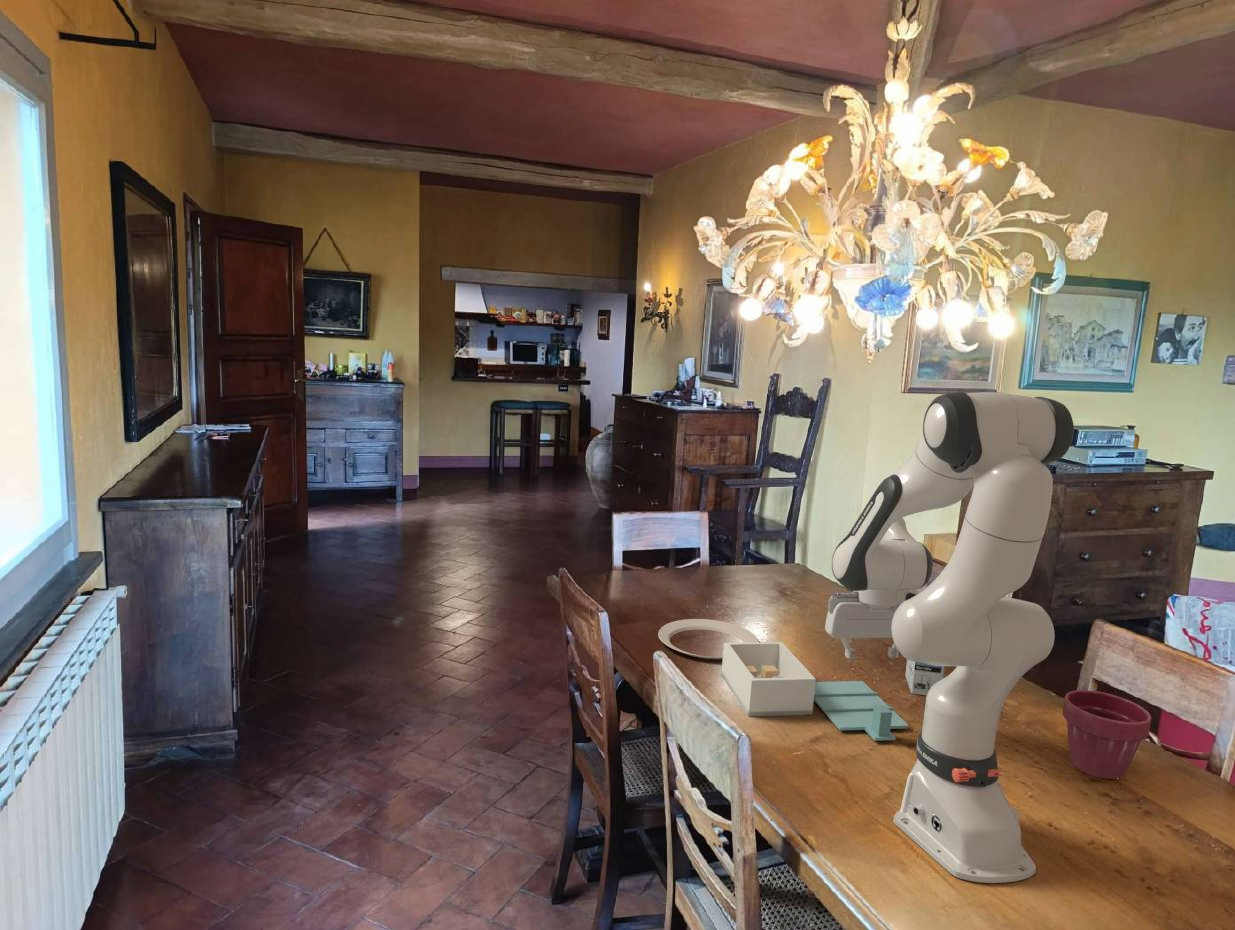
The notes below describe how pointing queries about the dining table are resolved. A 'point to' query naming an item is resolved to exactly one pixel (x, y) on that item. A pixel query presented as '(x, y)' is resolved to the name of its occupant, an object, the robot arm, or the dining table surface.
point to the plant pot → (1103, 732)
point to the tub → (768, 679)
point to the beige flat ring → (705, 624)
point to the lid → (857, 708)
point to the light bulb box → (922, 676)
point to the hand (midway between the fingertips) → (871, 657)
